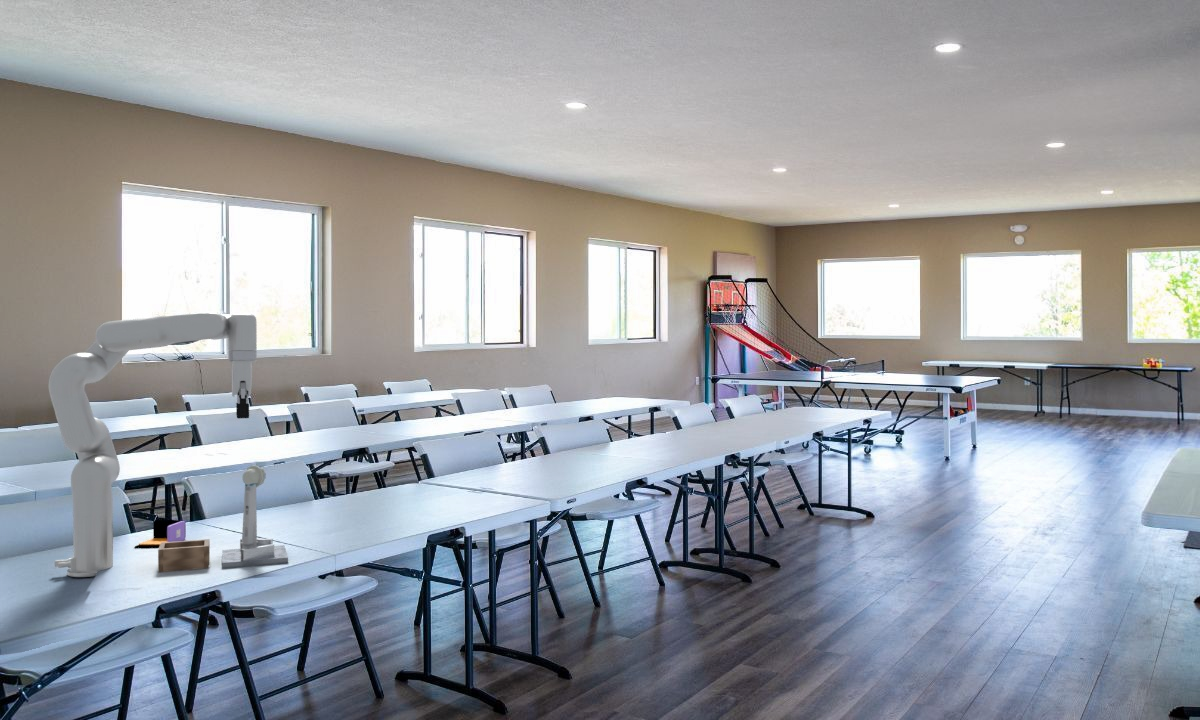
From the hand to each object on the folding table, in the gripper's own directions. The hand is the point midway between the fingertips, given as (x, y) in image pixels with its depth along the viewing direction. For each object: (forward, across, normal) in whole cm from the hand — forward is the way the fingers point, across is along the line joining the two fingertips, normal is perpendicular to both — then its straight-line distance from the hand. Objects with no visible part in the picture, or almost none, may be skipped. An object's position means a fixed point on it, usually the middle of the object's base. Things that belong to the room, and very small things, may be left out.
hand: (242, 417), depth 258 cm
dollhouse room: (+41, -31, -23) cm, 56 cm away
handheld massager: (+39, +2, +2) cm, 39 cm away
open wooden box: (+40, +4, -15) cm, 43 cm away
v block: (+40, +2, +3) cm, 40 cm away
